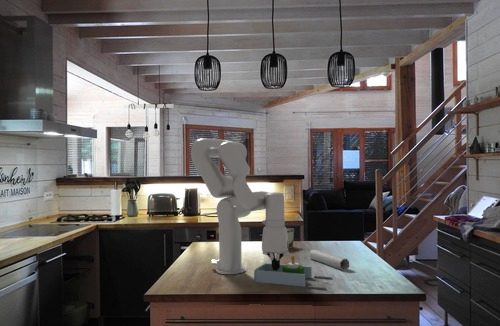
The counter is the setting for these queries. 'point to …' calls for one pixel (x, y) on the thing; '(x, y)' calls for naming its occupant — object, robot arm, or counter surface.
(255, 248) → the counter surface
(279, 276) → the pale blue tray
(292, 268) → the candle
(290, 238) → the food container
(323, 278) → the strips
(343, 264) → the tube
